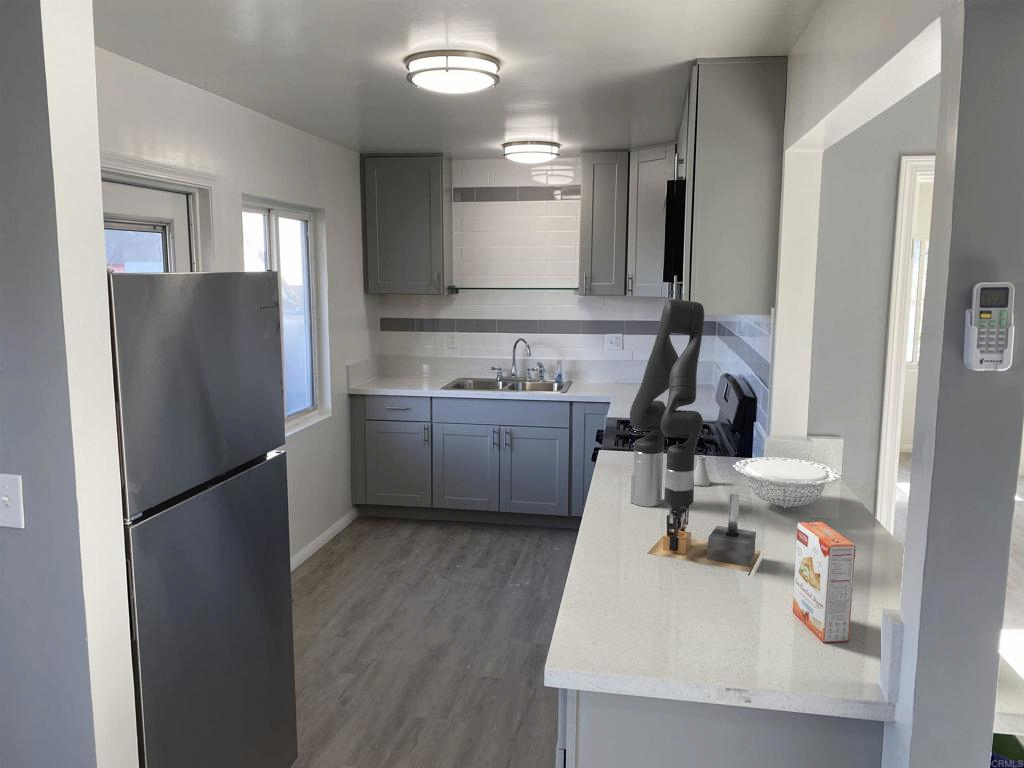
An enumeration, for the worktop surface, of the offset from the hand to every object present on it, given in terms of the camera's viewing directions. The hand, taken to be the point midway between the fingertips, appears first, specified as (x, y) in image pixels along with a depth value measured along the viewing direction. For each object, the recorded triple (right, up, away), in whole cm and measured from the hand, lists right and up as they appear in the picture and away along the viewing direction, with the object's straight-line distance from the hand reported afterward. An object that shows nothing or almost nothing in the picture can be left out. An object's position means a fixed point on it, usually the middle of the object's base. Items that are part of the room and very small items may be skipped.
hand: (676, 546), depth 202 cm
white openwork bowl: (+42, +4, +38) cm, 57 cm away
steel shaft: (+13, +4, -6) cm, 15 cm away
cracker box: (+21, -8, -41) cm, 47 cm away
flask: (+22, +8, +65) cm, 69 cm away
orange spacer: (0, -1, 0) cm, 1 cm away
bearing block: (+7, -2, -2) cm, 7 cm away
